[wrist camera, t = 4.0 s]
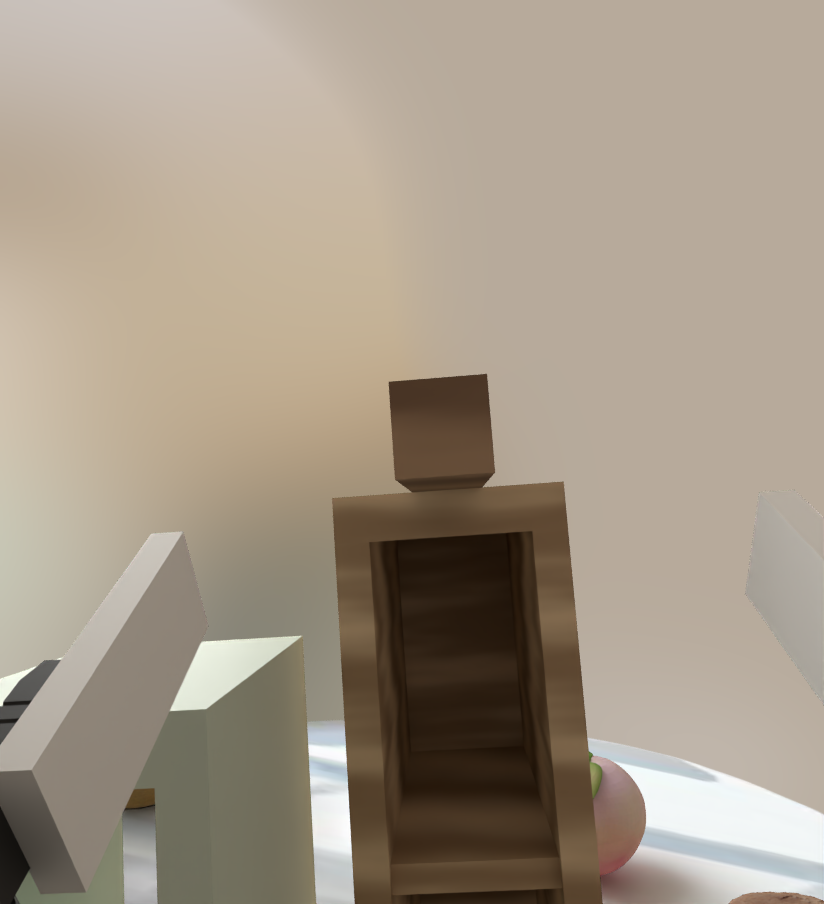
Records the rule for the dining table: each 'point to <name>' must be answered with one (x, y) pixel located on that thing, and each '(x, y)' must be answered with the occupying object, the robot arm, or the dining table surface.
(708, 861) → the dining table surface
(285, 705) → the sage green rectangular block
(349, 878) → the dining table surface
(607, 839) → the decorative fruit
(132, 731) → the robot arm
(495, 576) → the brown wooden tall box
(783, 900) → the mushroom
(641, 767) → the dining table surface
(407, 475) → the wooden square beam
